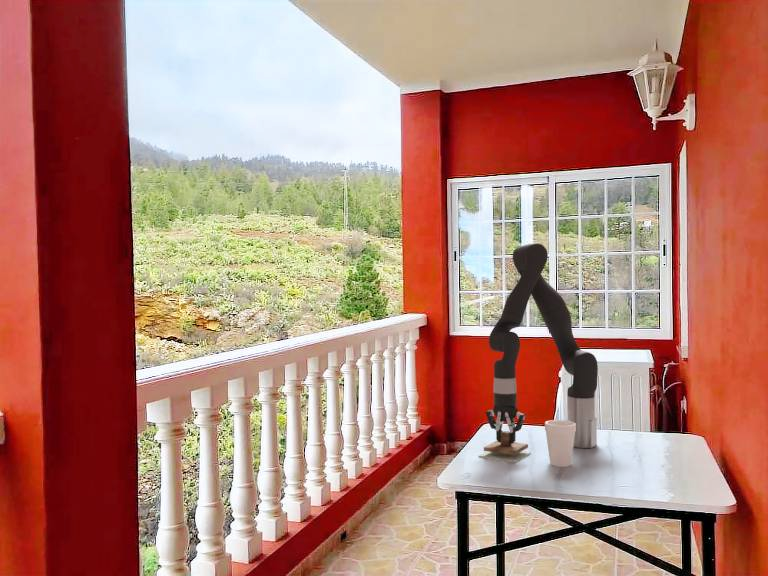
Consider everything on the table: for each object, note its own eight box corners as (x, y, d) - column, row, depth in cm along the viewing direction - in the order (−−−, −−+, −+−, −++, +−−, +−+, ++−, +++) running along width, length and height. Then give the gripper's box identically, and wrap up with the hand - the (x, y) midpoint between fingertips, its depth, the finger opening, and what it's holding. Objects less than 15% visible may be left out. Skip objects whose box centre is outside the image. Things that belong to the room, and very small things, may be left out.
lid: (528, 447, 222) (527, 430, 222) (515, 455, 213) (514, 437, 213) (497, 443, 228) (497, 427, 228) (483, 450, 219) (483, 433, 219)
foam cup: (563, 470, 203) (563, 427, 203) (539, 463, 210) (539, 422, 210) (581, 464, 209) (581, 423, 209) (557, 458, 216) (557, 418, 216)
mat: (530, 453, 222) (530, 452, 222) (515, 462, 212) (515, 461, 212) (495, 448, 230) (495, 447, 230) (478, 457, 219) (478, 455, 219)
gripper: (529, 391, 219) (530, 442, 220) (490, 387, 227) (491, 437, 227) (520, 394, 213) (521, 447, 213) (480, 391, 221) (481, 442, 221)
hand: (505, 442), depth 220 cm, fingers closed on lid, 3 cm apart
